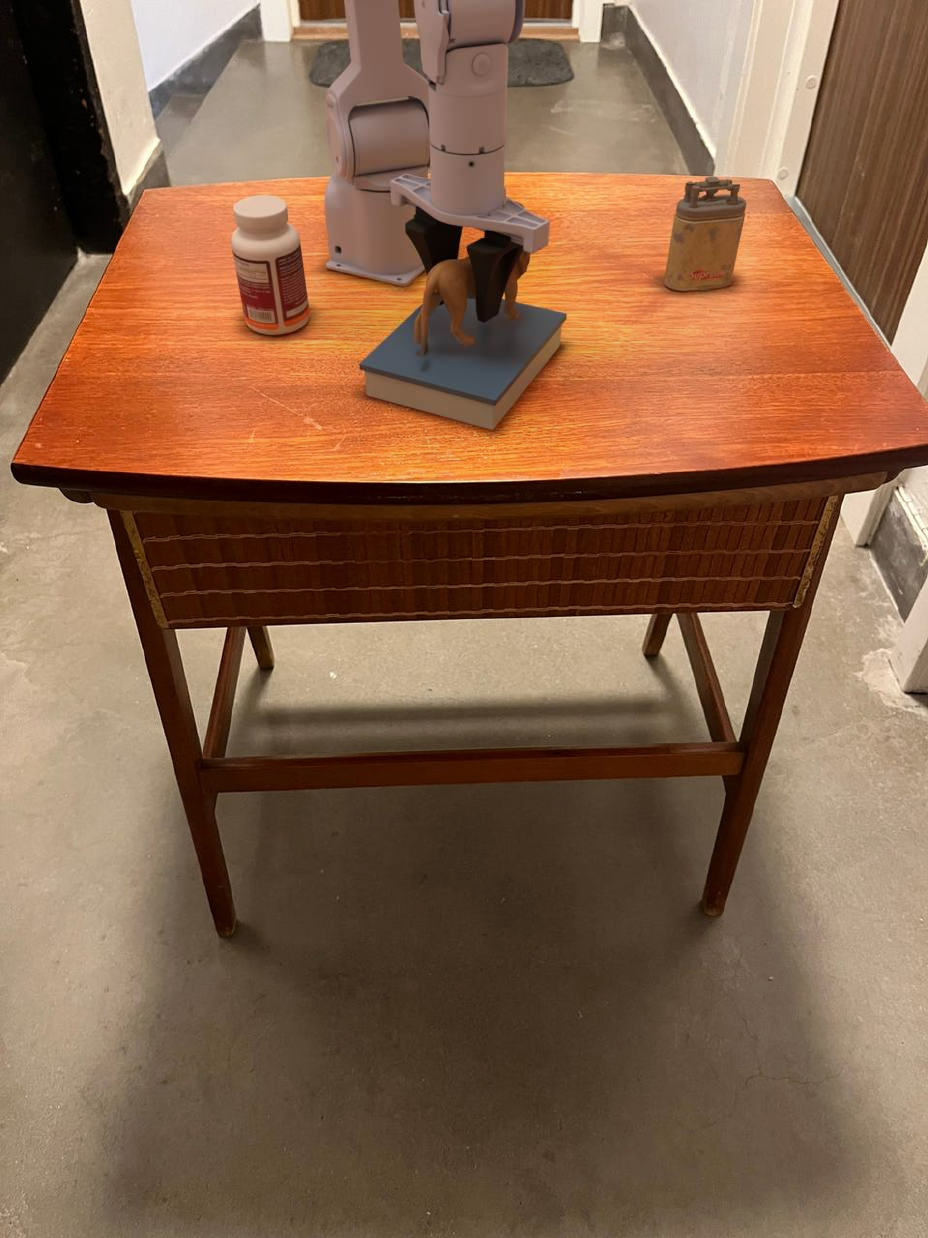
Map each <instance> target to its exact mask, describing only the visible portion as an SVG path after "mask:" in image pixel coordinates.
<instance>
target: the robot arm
mask: <svg viewBox="0 0 928 1238" xmlns="http://www.w3.org/2000/svg"><path fill="white" fill-rule="evenodd" d="M343 2H344V13H345V21H346V28H347V38H348V45H349V55H350V62H349V64H348V66H347V67H346V68H345V69H344V70H343V72H342V73H340V75H338V77H337V78H335V80H334V81H333V82H332V84H331V85H330V86H329V88H328V89H327V90H326V97H325V110H326V122H325V132H326V142H327V149H328V153H329V158H330V162H331V164H332V168H333V170H334V172H333V173H332V174H331V175H330V177H329V179H328V180H327V184H326V188H325V191H324V192H325V193H324V204H323V205H324V207H323V208H324V216H325V228H326V238H327V247H328V256H329V257H328V258H329V260H328V261H327V262H326V263H325V268H326V269H328V270H331V271H336V272H339V273H344V274H349V275H353V276H357V277H362V278H366V279H369V280H374V281H378V282H383V283H387V284H391V285H395V286H400V287H407V286H409V285H410V284H411V283H412V282H413V281H414V280H416V278H417V277H419V276H420V275H421V274H422V273H423V272H424V271H425V273H426V277H427V276H428V273H429V272H430V271H431V269H432V268H433V267H434V266H435V265H437V264H438V263H440V262H443V261H445V260H452V259H459V252H460V245H461V239H462V234H463V229H464V228H471V229H475V230H478V231H481V232H483V235H484V236H483V237H480V238H478V239H477V240H474V241H473V242H471V243H469V244H467V245H466V253H467V255H468V256H467V257H469V258H470V261H471V265H472V269H473V273H474V279H475V288H476V314H477V319H478V321H480V322H483V323H485V322H487V321H489V320H490V319H492V318H493V317H495V316H497V315H498V313H499V309H500V305H501V301H502V299H504V296H505V294H504V291H505V288H506V285H507V283H508V280H509V278H510V275H511V273H512V271H513V269H514V267H515V265H516V263H517V261H518V259H519V257H520V256H521V254H522V252H523V251H527V252H529V253H530V254H532V255H534V254H536V253H537V252H539V251H541V250H543V249H544V248H546V247H547V246H549V240H550V239H549V238H550V223H551V221H550V220H549V219H546V218H543V217H540V216H538V215H537V214H534V213H533V212H531V211H530V210H528V209H527V208H525V207H524V208H523V207H522V206H520V205H519V204H517V203H516V202H514V201H515V200H513V199H511V198H509V197H508V196H507V187H506V186H505V173H506V172H505V171H506V169H505V168H506V167H505V166H506V139H507V107H508V106H507V105H508V74H509V70H508V69H509V47H508V46H507V44H510V45H513V44H514V43H516V42H517V41H518V39H519V38H520V37H521V33H522V31H523V28H524V27H523V26H524V20H525V13H526V12H525V11H526V0H413V9H414V11H413V12H414V17H415V23H416V29H417V32H418V37H419V38H418V39H419V45H420V62H421V67H422V72H423V73H424V75H426V76H427V79H426V78H425V77H424V76H423V75H422V74H420V72H417V71H416V70H415V69H414V68H412V67H410V66H409V65H408V64H407V63H406V62H404V61H405V60H404V53H403V50H404V49H403V41H402V28H401V16H400V5H399V0H343ZM397 98H398V100H397ZM399 98H406V99H399ZM390 99H396V100H390ZM383 100H390V101H383ZM374 101H381V102H374ZM367 102H374V103H367ZM362 103H367V104H362ZM429 170H430V171H429ZM429 176H430V178H429ZM442 304H444V302H443V300H441V302H440V303H439V305H442Z"/></svg>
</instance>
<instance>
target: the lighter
mask: <svg viewBox="0 0 928 1238" xmlns="http://www.w3.org/2000/svg"><path fill="white" fill-rule="evenodd" d="M740 188H741V183H733V180H732V179H729V178H726V179H719V177H717V176H707V177H705V179H704V180H701V181H695V182H694V181H691V180H689V181H687V182H686V183H685V185H684V197H683V198H682V199H680V200H679V201H678V202H677V203H676V208H675V209H676V210H675V213H674V215H673V221H672V228H671V235H670V241H669V246H668V252H667V259H666V266H665V273H664V277H663V280H662V281H663V285H664V286H666V288H668V289H670V290H674V291H679V292H687V291H701V292H706V291H709V290H711V289H717V288H725V287H727V286H730V285H731V284H732V283H733V275H734V272H735V271H734V270H735V266H736V260H737V256H738V251H739V246H740V243H741V242H740V241H741V237H742V233H743V227H744V223H745V219H746V218H745V217H746V213H745V212H746V207H747V200H746V199H745V198H743V197H741V196H738V195H739V194H738V193H739V192H740ZM723 190H724V191H725V190H727V191H729V192H730V194H717V193H718V192H719V191H723ZM704 192H705V194H704V195H702V196H700V193H704ZM716 194H717V195H716Z"/></svg>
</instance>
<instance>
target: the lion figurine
mask: <svg viewBox="0 0 928 1238" xmlns="http://www.w3.org/2000/svg"><path fill="white" fill-rule="evenodd" d="M513 201H514V202H516V203H517V204H519V205H520V206H522V207H523V208H525V205H524V204H522V202H519V201H517V200H513ZM530 261H531V253H529V252H527V251H523V252H522V254H521V256H520V257H519V259H518V261H517V263H516V265H515V267H514V269H513V271H512V273H511V275H510V278H509V280H508V283H507V285H506V288H505V291H504V299H505V305H504V314H505V317H506V318H507V319H510V320H517V319H518V318H519V313H518V312H517V311H516V310H514V306H515V302H517V296H518V290H519V285H518V280H519V279H521V277H522V276H523V275H525V273H527V271H528V266H529V265H530ZM467 299H476V288H475V279H474V273H473V269H472V265H471V261H470V258H469V256H466V257H464V258H458V259H452V260H445V261H443V262H440V263H438V264H437V265H435V266H434V267H433V268H432V269H431V271H430V272H429V273H428V276H427V275H426V281H425V288H424V292H423V298H422V303H421V305H422V308H421V311H420V313H419V315H418V316H417V317H416V319H415V324H414V342H415V343H416V344H420V345H422V346H421V349H420V353H419V354H420V355H421V356H423V355H425V354H426V353H427V351H428V345H429V344H428V342H429V337H428V318H429V317H430V316H431V315H432V313H433V312H434V311H435V309H436V308H437V306H438V305H439V303H440V302H441V300H443V302H444V304H445V306H446V308H447V310H448V312H449V314H450V317H451V327H450V331H451V333H452V334H453V335H454V336H455V337H456V338H457V340H458V341H459V342H460V343H461V344H462V345H465V346H469V345H473V344H474V343H475V339H474V338H473V336H472V335H469V334H467V335H465V334H464V332H463V329H462V323H463V319H464V315H465V311H466V308H467Z"/></svg>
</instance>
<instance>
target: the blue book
mask: <svg viewBox="0 0 928 1238" xmlns="http://www.w3.org/2000/svg"><path fill="white" fill-rule="evenodd" d="M504 305H505V298H502V301H501V305H500V309H499V313H498V315H497V316H495V317H493V318H492V319H490V320H489V321H487V322H485V323H483V322H480V321H478V319H477V314H476V299H467V308H466V311H465V315H464V319H463V323H462V329H463V332H464V334H465V335H467V334H469V335H472V336H473V338H474V339H475V343H474V344H473V345H469V346H465V345H462V344H461V343H460V342H459V341H458V340H457V338H456V337H455V336H454V335H453V334H452V333H451V331H450V327H451V317H450V314H449V312H448V310H447V308H446V306H445V304H442V305H438V306H437V308H436V309H435V311H434V312H433V313H432V315H431V316H430V317H429V318H428V337H429V342H428V344H429V345H428V351H427V353H426V354H425V355H423V356H421V355H420V354H419V353H420V349H421V346H422V345H420V344H416V343H415V342H414V324H415V319H416V317H417V316H418V315H419V313H420V311H421V308H422V304H420V305H419V306H418V307H417V308H416V309H415V310H414V311H413V312H412V313H411V314H410V315H408V316H407V318H405V320H404V321H403V322H401V323H400V324H399V325H398V326H397V327H396V328H395V329H394V330H393V331H392V332H391V333H390V334H389V335H388V336H387V337H386V338H384V340H382V342H380V344H378V345H377V346H376V347H375V348H374V349H373V350H372V351H371V352H369V354H368V355H367V356H365V358H363V360H361V361H360V363H359V364H358V365H359V366H358V367H359V370H360V371H363V372H364V378H365V392H366V396H368V397H371V398H374V399H378V400H382V401H385V402H389V403H393V404H397V405H400V406H402V407H403V406H404V407H406V408H407V407H408V408H410V409H414V410H418V411H421V412H425V413H429V414H432V415H436V416H439V417H442V418H443V417H444V418H447V419H450V420H454V421H458V422H461V423H465V424H468V425H473V426H475V427H479V428H483V429H486V430H489V431H493V430H495V428H497V426H498V424H499V423H500V422H501V421H502V420H503V418H504V417H505V416H506V414H507V413H508V412H509V410H510V409H511V408H512V407H513V405H514V404H515V403H516V402H517V401H518V400H519V398H520V397H521V395H522V394H523V393H524V392H525V391H526V390H527V388H528V387H529V385H530V384H531V383H532V382H533V380H534V379H536V377H537V376H538V374H539V373H540V372H541V370H542V369H543V368H544V367H545V365H546V364H547V363H549V360H550V359H551V358H552V356H553V355H554V354H555V353H556V352H557V350H558V349H559V348H560V347H561V339H562V326H563V324H564V323H565V322H566V321H567V315H568V314H567V313H565V312H561V311H557V310H552V309H548V308H544V307H541V306H540V307H539V306H536V305H532V304H526V303H523V302H519V301H515V306H514V310H516V311H517V312H518V313H519V318H518V319H517V320H510V319H507V318H506V317H505V314H504Z"/></svg>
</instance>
